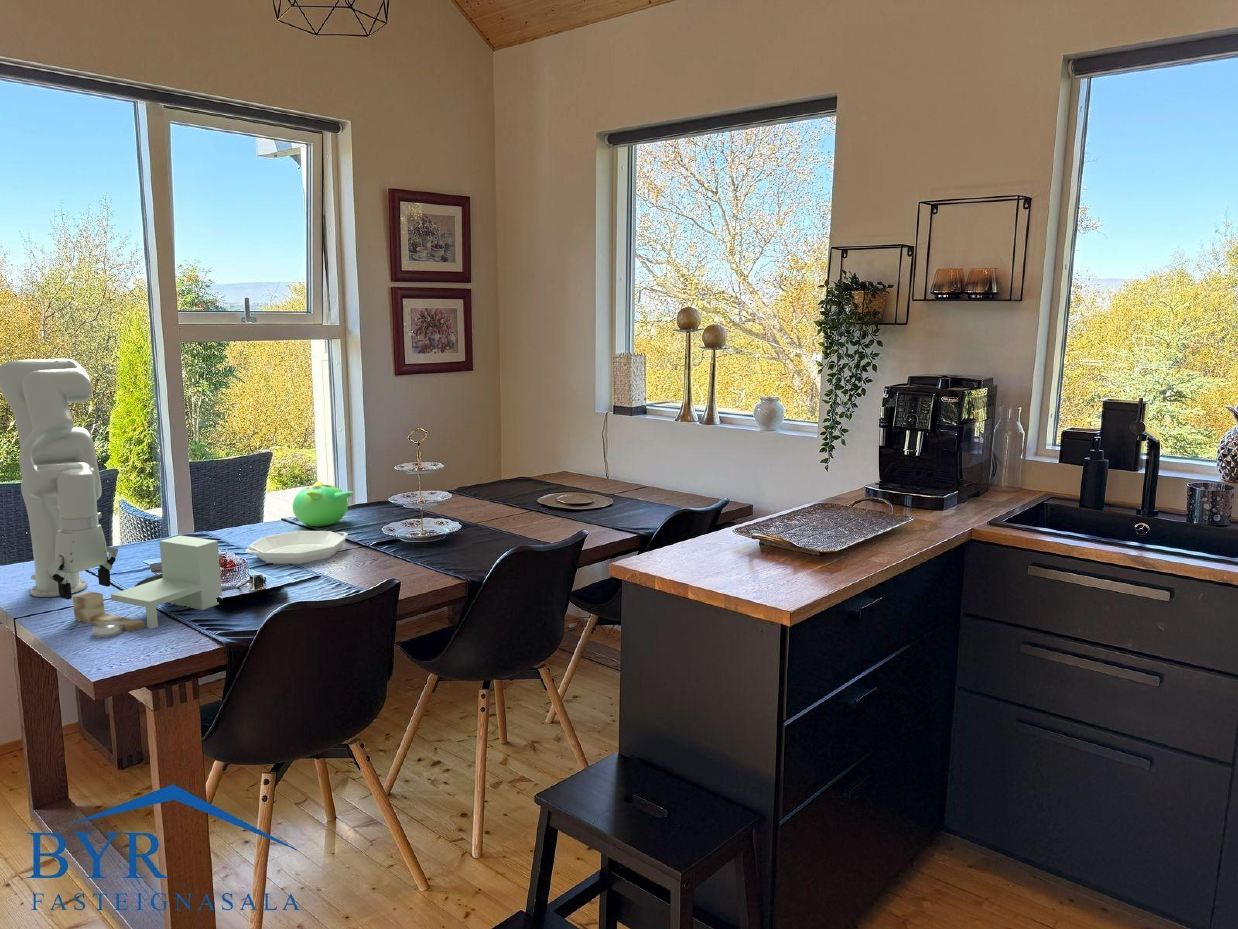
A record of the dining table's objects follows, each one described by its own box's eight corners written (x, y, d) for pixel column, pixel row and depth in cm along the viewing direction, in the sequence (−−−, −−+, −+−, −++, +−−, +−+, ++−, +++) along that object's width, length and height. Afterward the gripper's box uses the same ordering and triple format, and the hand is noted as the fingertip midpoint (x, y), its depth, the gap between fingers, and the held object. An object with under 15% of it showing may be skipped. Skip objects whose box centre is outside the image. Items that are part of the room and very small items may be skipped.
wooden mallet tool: (75, 620, 208) (72, 596, 207) (91, 615, 211) (88, 591, 210) (130, 632, 200) (128, 607, 199) (146, 626, 204) (144, 601, 203)
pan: (329, 538, 284) (328, 525, 283) (366, 554, 266) (366, 540, 265) (230, 556, 263) (229, 542, 262) (264, 574, 245) (263, 559, 244)
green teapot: (338, 517, 312) (335, 476, 309) (358, 525, 299) (355, 483, 297) (287, 524, 300) (284, 482, 298) (305, 534, 288) (302, 490, 285)
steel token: (86, 637, 198) (85, 628, 198) (109, 628, 203) (109, 619, 203) (106, 640, 196) (105, 631, 196) (129, 631, 201) (128, 623, 201)
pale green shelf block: (113, 620, 208) (106, 555, 205) (185, 596, 226) (180, 535, 223) (152, 628, 202) (145, 561, 200) (222, 602, 220) (217, 540, 218)
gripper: (102, 511, 214) (108, 578, 218) (31, 529, 198) (39, 600, 202) (124, 516, 211) (129, 583, 215) (53, 534, 196) (60, 606, 199)
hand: (85, 591), depth 209 cm, fingers open, 9 cm apart
